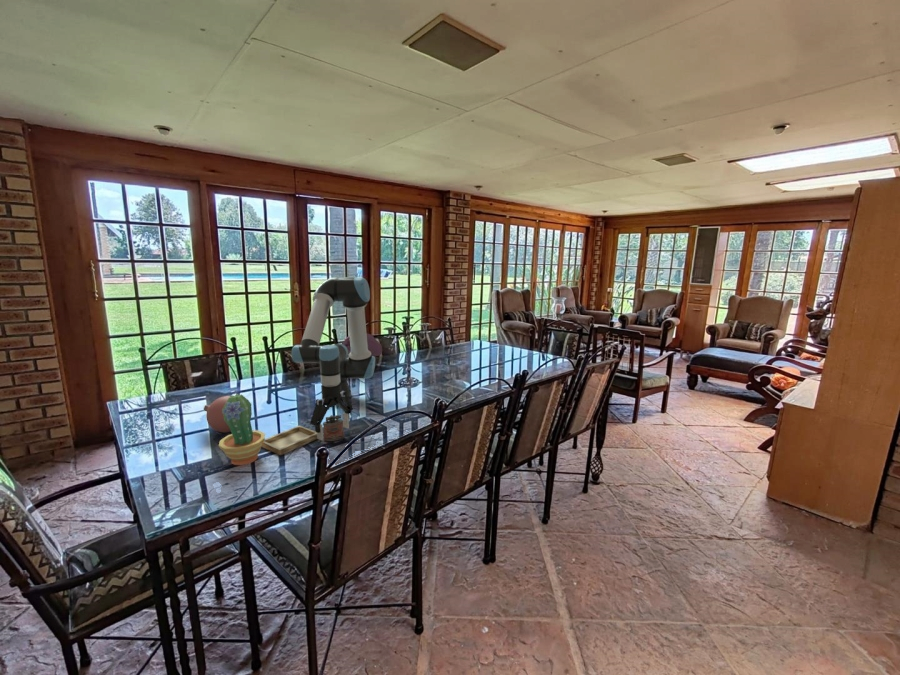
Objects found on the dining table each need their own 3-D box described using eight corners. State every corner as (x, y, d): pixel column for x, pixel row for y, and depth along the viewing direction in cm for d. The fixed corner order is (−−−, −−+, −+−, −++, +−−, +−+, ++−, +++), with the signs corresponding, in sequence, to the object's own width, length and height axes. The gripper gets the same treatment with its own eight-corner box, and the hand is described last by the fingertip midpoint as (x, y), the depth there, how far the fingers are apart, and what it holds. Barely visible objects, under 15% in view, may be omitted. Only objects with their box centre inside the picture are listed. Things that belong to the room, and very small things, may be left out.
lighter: (324, 442, 162) (322, 419, 160) (323, 438, 165) (322, 415, 163) (344, 438, 165) (343, 415, 163) (343, 435, 168) (342, 412, 166)
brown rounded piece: (224, 419, 183) (221, 387, 180) (257, 426, 176) (254, 393, 172) (192, 433, 169) (187, 398, 166) (226, 441, 162) (222, 405, 158)
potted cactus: (210, 465, 144) (202, 399, 139) (246, 446, 158) (239, 386, 153) (243, 473, 138) (235, 405, 133) (276, 453, 152) (271, 391, 147)
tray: (299, 430, 172) (299, 425, 172) (319, 437, 165) (319, 432, 165) (260, 446, 158) (260, 441, 157) (280, 455, 151) (279, 450, 150)
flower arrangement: (349, 387, 244) (352, 345, 233) (319, 375, 252) (320, 333, 241) (381, 367, 274) (385, 329, 264) (353, 357, 282) (355, 319, 271)
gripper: (348, 374, 172) (350, 421, 176) (298, 390, 152) (302, 442, 156) (360, 377, 168) (362, 425, 172) (310, 394, 148) (314, 447, 152)
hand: (333, 433), depth 164 cm, fingers open, 13 cm apart
